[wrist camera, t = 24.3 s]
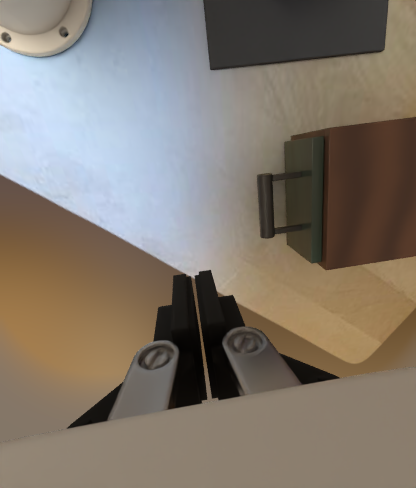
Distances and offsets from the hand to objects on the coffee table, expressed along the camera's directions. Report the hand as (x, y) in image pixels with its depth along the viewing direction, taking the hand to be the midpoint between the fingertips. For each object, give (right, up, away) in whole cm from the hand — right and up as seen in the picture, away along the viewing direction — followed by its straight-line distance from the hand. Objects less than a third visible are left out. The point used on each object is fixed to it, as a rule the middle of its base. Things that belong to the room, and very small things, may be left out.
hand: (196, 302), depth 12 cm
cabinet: (+19, +10, +23) cm, 32 cm away
